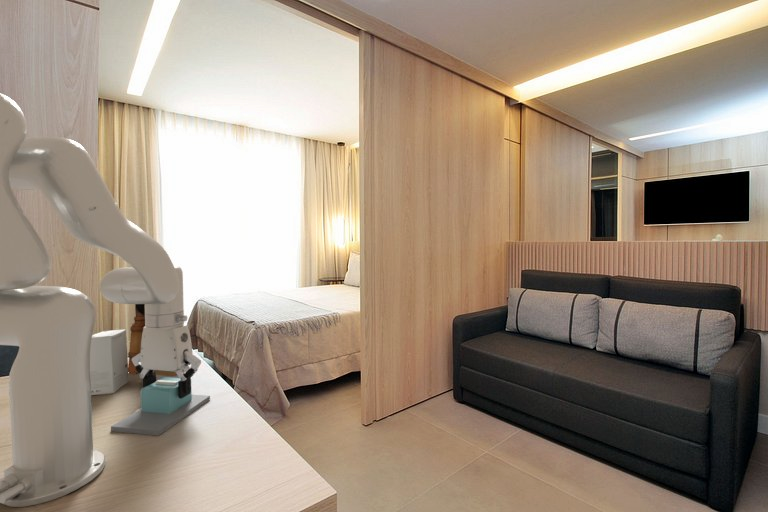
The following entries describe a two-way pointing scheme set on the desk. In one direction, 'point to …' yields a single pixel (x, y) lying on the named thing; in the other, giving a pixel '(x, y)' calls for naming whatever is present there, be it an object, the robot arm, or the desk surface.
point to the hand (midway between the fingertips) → (167, 394)
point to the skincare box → (108, 361)
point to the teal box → (162, 396)
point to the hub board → (157, 418)
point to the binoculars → (136, 336)
